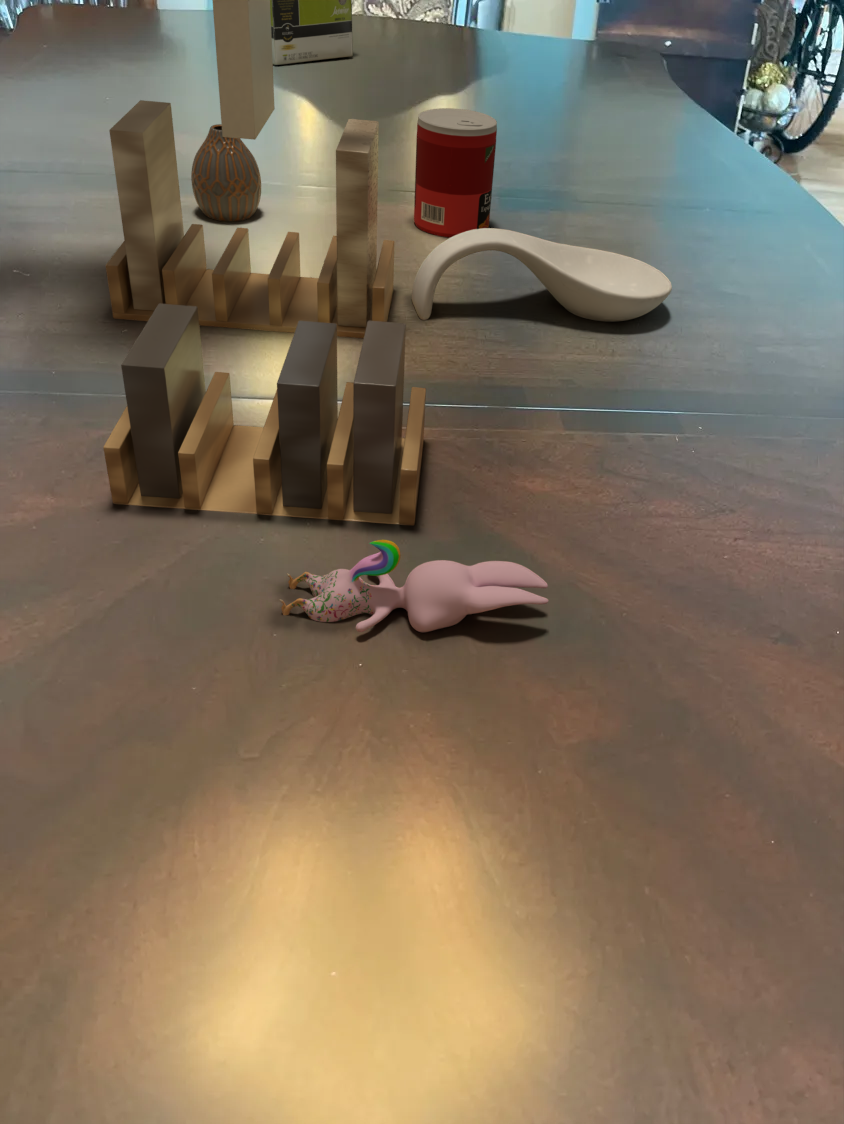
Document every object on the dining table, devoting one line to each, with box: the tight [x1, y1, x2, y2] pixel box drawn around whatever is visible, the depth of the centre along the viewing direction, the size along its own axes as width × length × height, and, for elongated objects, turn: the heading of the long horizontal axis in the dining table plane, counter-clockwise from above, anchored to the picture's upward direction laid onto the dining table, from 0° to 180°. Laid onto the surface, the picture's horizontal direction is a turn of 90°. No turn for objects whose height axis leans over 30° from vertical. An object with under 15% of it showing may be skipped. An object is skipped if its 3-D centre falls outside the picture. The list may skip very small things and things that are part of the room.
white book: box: [211, 0, 276, 140], centre depth 78 cm, size 2×9×14 cm, turn 179°
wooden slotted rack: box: [104, 99, 396, 339], centre depth 88 cm, size 22×11×15 cm, turn 89°
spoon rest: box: [410, 227, 673, 323], centre depth 94 cm, size 24×12×7 cm, turn 104°
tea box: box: [270, 0, 354, 66], centre depth 162 cm, size 15×10×15 cm, turn 133°
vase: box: [190, 123, 262, 222], centre depth 106 cm, size 7×7×9 cm
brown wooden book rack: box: [102, 303, 427, 526], centre depth 68 cm, size 19×11×10 cm, turn 89°
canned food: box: [413, 107, 498, 238], centre depth 108 cm, size 8×8×11 cm
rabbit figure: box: [278, 539, 549, 633], centre depth 59 cm, size 6×6×15 cm
